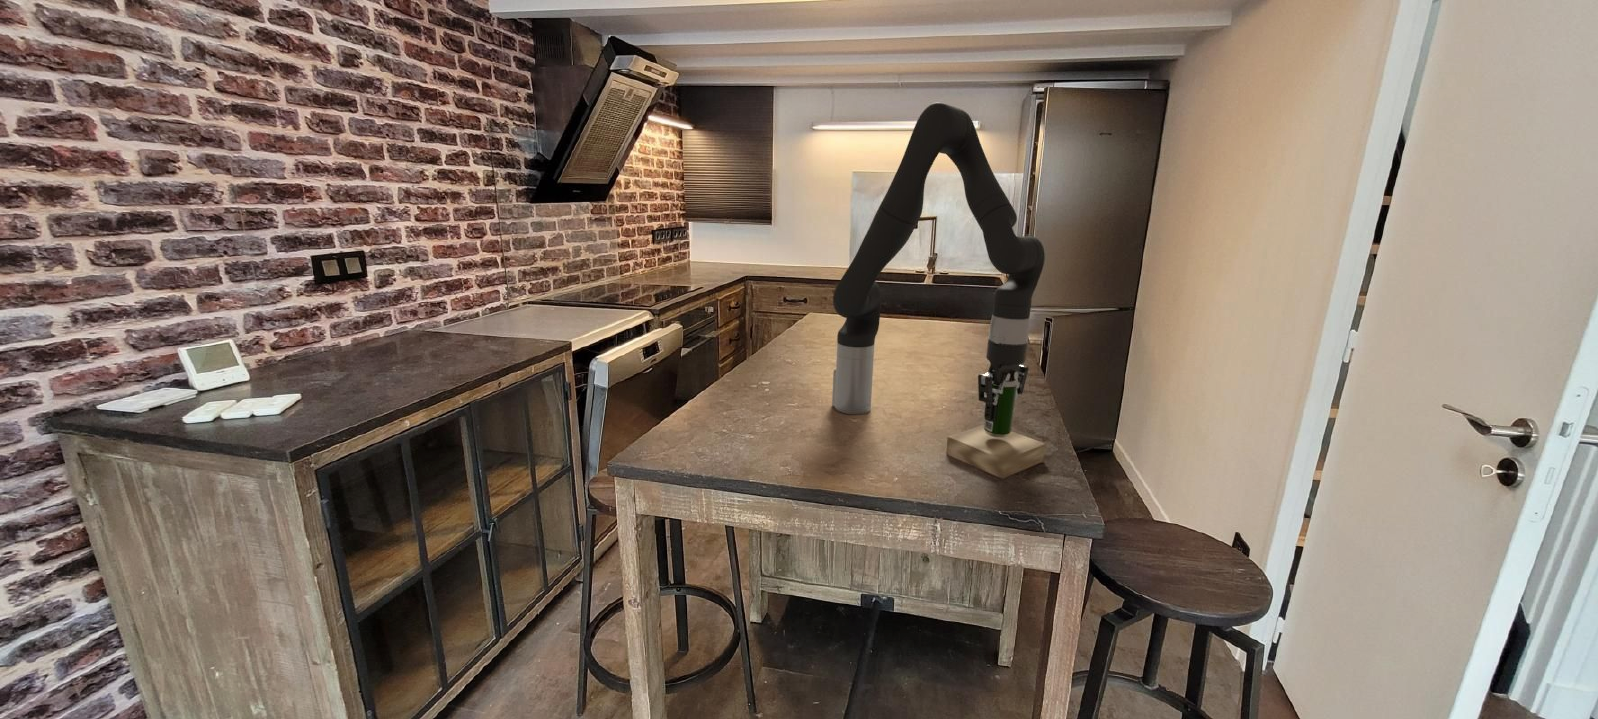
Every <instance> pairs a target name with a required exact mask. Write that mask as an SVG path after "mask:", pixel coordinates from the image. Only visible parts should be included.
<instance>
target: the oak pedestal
mask: <svg viewBox="0 0 1598 719" xmlns="http://www.w3.org/2000/svg"><path fill="white" fill-rule="evenodd" d="M946 442H947V443H946V451H945V454H946V455H948V456H950V457H952V458H954V459H956V460H958V461H961V462H963V463H966V464H969V465H970V466H972V467H975V468H977V469H978V470H982V471H983V472H986V473H988V474H991V475H993V476H995V477H996V478H1000V479H1005V478H1008V477H1010V476H1013V475H1014V474H1017V473H1020V472H1022V471H1024V470H1026V469H1029V468H1031V467H1034V466H1036V465H1038V464H1040V463H1043V462H1044V457H1045V450H1046V443H1044V442H1042V441H1039V440H1036V439H1033V438H1031V437H1028V436H1026V435H1023V434H1020V433H1018V432H1015V431H1012V430H1011V432H1010V434H1009V436H1007V437H1001V438H1000V437H993V436H990V435H988V434H986V433H985V430H984V424H982V425H978V426H975V427H972V428H970V429H969V428H968V429H966V430H964V431H960V432H957V433H955V434H952V435H948V436H947V441H946Z"/></svg>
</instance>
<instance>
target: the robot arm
mask: <svg viewBox="0 0 1598 719" xmlns="http://www.w3.org/2000/svg"><path fill="white" fill-rule="evenodd" d="M912 130H913V131H912V132H911V135H910V138H909V140H908V143H907V146H906V148H905V151H904V154H903V156H902V159H901V161H900V164H899V166H898V168H897V170H896V172H895V174H894V177H893V179H892V181H891V183H890V185H889V187H888V190H887V191H886V193H885V195H884V197H883V199H882V201H881V202H880V205H879V206H878V208H877V211H876V213H875V215H874V217H873V218H872V221H871V224H869V227H868V230H867V232H866V234H865V235H864V237H863V239H862V242H861V244H860V245H859V247H858V250H857V251H856V254H855V255H854V257H853V260H852V262H851V263H850V264H849V266H848V267H847V269H846V271H845V272H844V274H843V275H842V277H841V278H840V280H839V281H838V283H837V285H836V287H835V289H834V292H833V296H832V304H833V308H834V310H835V312H836V313H837V315H839V316H840V317H843V318H845V322H844V323H843V325H842V326H841V327H840V329H839V330H838V332H837V336H836V337H837V339H836V362H835V363H836V364H835V365H836V366H835V369H834V370H833V372H832V373H833V375H832V376H833V377H832V378H833V379H832V380H833V381H832V399H831V406H833V407H834V409H835V410H836V411H837V412H840V413H843V414H847V415H863V414H866V413H869V412H871V409H872V394H873V376H874V375H873V374H874V362H875V360H874V359H875V358H874V357H875V341H876V337H877V334H878V331H879V328H880V319H881V311H882V310H881V309H882V292H881V289H880V286H879V284H878V283H877V282H876V280H877V279H878V277H879V275H880V274H881V273H882V271H883V270H884V269H885V267H886V266H887V265H888V264H889V263H890V262H891V261H892V260H893V259H894V257H896V256H897V254H899V252H900V251H901V250H902V249H903V248H904V246H905V245H906V244H907V243H908V241H909V239H910V238H911V236H912V234H913V232H914V230H915V228H916V227H917V225H918V223H919V220H920V219H921V216H922V212H923V208H924V200H925V199H924V195H925V194H924V193H925V184H926V180H927V177H928V174H929V172H930V169H932V166H933V164H934V162H935V161H936V159H937V157H938V155H939V154H944V155H946V156H947V157H948V158H949V159H950V160H951V161H952V163H953V164H954V166H955V167H956V168H957V169H958V172H959V173H960V176H961V178H962V182H963V187H964V195H965V199H966V202H967V205H968V207H969V210H970V212H971V214H972V215H973V217H974V218H975V221H976V222H977V224H978V226H979V228H980V230H982V234H983V235H982V236H983V240H984V241H983V242H984V244H985V247H986V252H987V255H988V259H989V261H990V263H991V265H992V266H993V267H994V268H995V269H996V270H997V272H999V273H1001V274H1004V275H1008V276H1007V280H1006V282H1004V283H1003V284H1002V285H1000V286H999V287H997V288H996V290H995V291H994V296H993V306H992V313H991V314H992V315H991V320H990V324H989V329H988V338H987V346H986V347H987V348H986V356H985V358H986V360H987V361H988V362H989V363H990V365H989V368H988V370H987V372H986V373H985V374H984V373H979V374H978V376H977V384H978V385H977V386H978V387H977V388H978V389H977V390H978V401H980V402H983V403H985V405H984V406H985V407H984V417H983V418H984V421H985V420H987V421H990V422H994V421H995V420H996V412H997V405H996V404H997V402H998V399H999V397H1000V395H1002V394H1003V389H1004V385H1005V382H1008V381H1009V379H1013V381H1014V380H1015V379H1016V383H1017V388H1016V396H1015V400H1016V399H1017V398H1018V397H1019V395H1023V393H1024V389H1025V384H1026V380H1027V376H1028V373H1029V366H1026V365H1023V364H1024V363H1025V362H1026V359H1027V358H1026V357H1027V350H1028V342H1029V335H1030V334H1029V333H1030V315H1031V310H1032V299H1033V295H1034V292H1035V290H1036V287H1037V286H1038V283H1039V280H1040V278H1041V274H1042V273H1043V269H1044V265H1045V258H1046V255H1045V254H1046V253H1045V249H1044V246H1043V243H1042V242H1041V241H1040V240H1039V239H1038V238H1036V237H1034V236H1017V235H1016V234H1015V232H1014V229H1013V227H1014V226H1015V225H1016V223H1017V221H1018V216H1017V213H1016V211H1015V209H1014V207H1013V205H1012V204H1011V202H1010V200H1009V198H1008V197H1007V195H1006V193H1005V192H1004V190H1003V188H1002V187H1001V185H1000V183H999V181H998V180H997V177H996V176H995V174H994V172H993V170H992V169H991V166H990V164H989V161H988V158H987V156H986V154H985V152H984V149H983V147H982V144H981V141H980V139H979V138H980V137H979V135H978V133H977V129H976V126H975V124H974V122H973V120H972V118H971V116H970V115H969V114H968V112H966V111H965V110H964V109H961V108H958V107H956V106H953V105H950V104H947V103H945V102H941V101H940V102H939V101H938V102H932V103H930V104H929V105H928V106H927V107H926V108H924V110H923V111H922V112H921V113H920V115H919V117H918V119H917V121H916V123H915V125H914V127H913V129H912ZM992 384H995V385H997V386H999V385H1000V387H999V389H994V388H992ZM992 392H994V393H995V395H994V398H992Z"/></svg>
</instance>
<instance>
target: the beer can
mask: <svg viewBox="0 0 1598 719" xmlns="http://www.w3.org/2000/svg"><path fill="white" fill-rule="evenodd" d="M999 387H1000V385H999V386H997V385H995V384H992V388H994V389H999ZM1016 388H1017V383H1016V379H1015V380H1014V381H1013V379H1009V381H1008V382H1005V385H1004V389H1003V394H1002V395H1000V397H999V399H998V402H997V404H996V405H997V412H996V420H995V421H994V422H990V421H987V420H985V419H984V422H983V423H984V424H983V425H984V430H985V433H986V434H988V435H990V436H993V437H1000V438H1001V437H1007V436H1009V434H1010V432H1011V431H1012V427H1013V420H1014V412H1015V403H1016V399H1015V396H1016ZM994 395H995V393H994V392H992V398H994Z"/></svg>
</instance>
